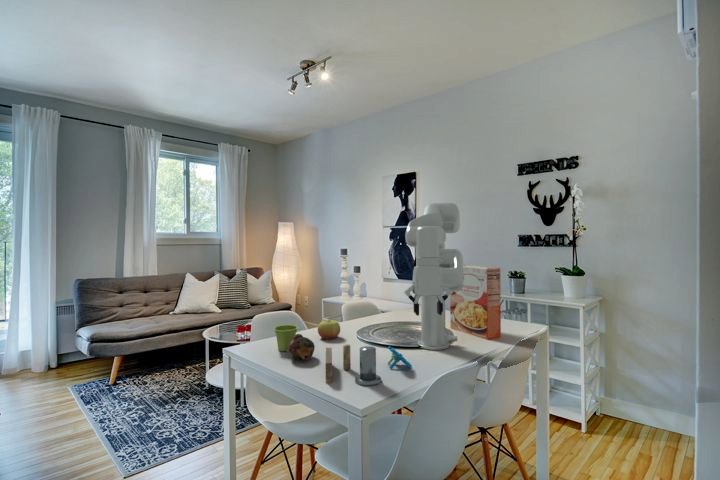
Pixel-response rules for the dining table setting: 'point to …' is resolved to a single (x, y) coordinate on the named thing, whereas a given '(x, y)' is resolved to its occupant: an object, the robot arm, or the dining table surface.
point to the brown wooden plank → (328, 365)
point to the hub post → (367, 367)
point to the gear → (397, 358)
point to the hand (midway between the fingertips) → (428, 314)
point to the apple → (329, 329)
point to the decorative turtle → (301, 347)
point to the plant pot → (285, 336)
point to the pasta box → (477, 303)
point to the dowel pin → (346, 357)
